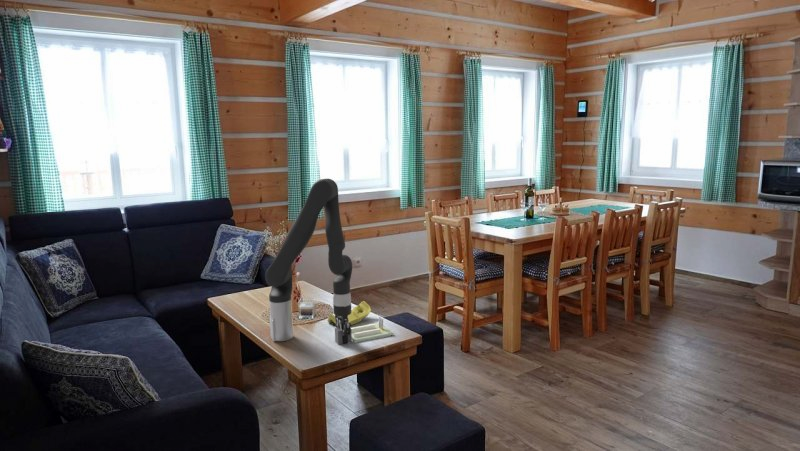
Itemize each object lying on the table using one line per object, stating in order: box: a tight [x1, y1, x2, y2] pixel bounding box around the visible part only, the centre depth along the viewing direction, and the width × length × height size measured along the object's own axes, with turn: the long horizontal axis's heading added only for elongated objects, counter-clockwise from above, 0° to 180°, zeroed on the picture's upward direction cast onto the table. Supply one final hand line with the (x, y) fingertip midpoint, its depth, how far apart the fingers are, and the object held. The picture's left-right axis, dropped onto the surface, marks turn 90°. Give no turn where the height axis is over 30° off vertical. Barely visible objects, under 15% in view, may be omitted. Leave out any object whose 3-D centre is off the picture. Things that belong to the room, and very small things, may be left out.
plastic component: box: [327, 300, 372, 326], centre depth 256 cm, size 20×7×10 cm
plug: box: [334, 327, 353, 346], centre depth 231 cm, size 6×4×6 cm, turn 116°
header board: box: [351, 316, 394, 343], centre depth 239 cm, size 18×13×6 cm
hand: (343, 341), depth 231 cm, fingers closed on plug, 4 cm apart
